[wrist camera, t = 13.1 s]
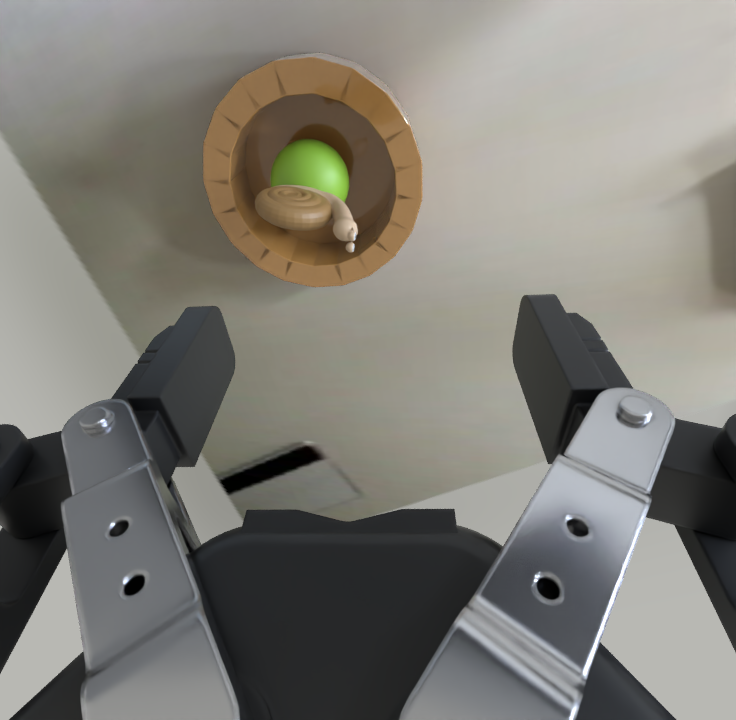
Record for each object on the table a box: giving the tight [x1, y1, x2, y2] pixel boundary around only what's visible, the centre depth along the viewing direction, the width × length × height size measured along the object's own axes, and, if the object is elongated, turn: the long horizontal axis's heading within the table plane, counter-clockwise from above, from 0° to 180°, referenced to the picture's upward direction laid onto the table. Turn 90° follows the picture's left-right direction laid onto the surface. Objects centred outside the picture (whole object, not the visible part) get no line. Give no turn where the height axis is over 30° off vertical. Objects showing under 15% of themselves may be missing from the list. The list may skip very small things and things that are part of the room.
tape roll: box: [203, 52, 422, 287], centre depth 31 cm, size 15×15×4 cm
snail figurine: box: [255, 139, 358, 253], centre depth 28 cm, size 5×6×12 cm
